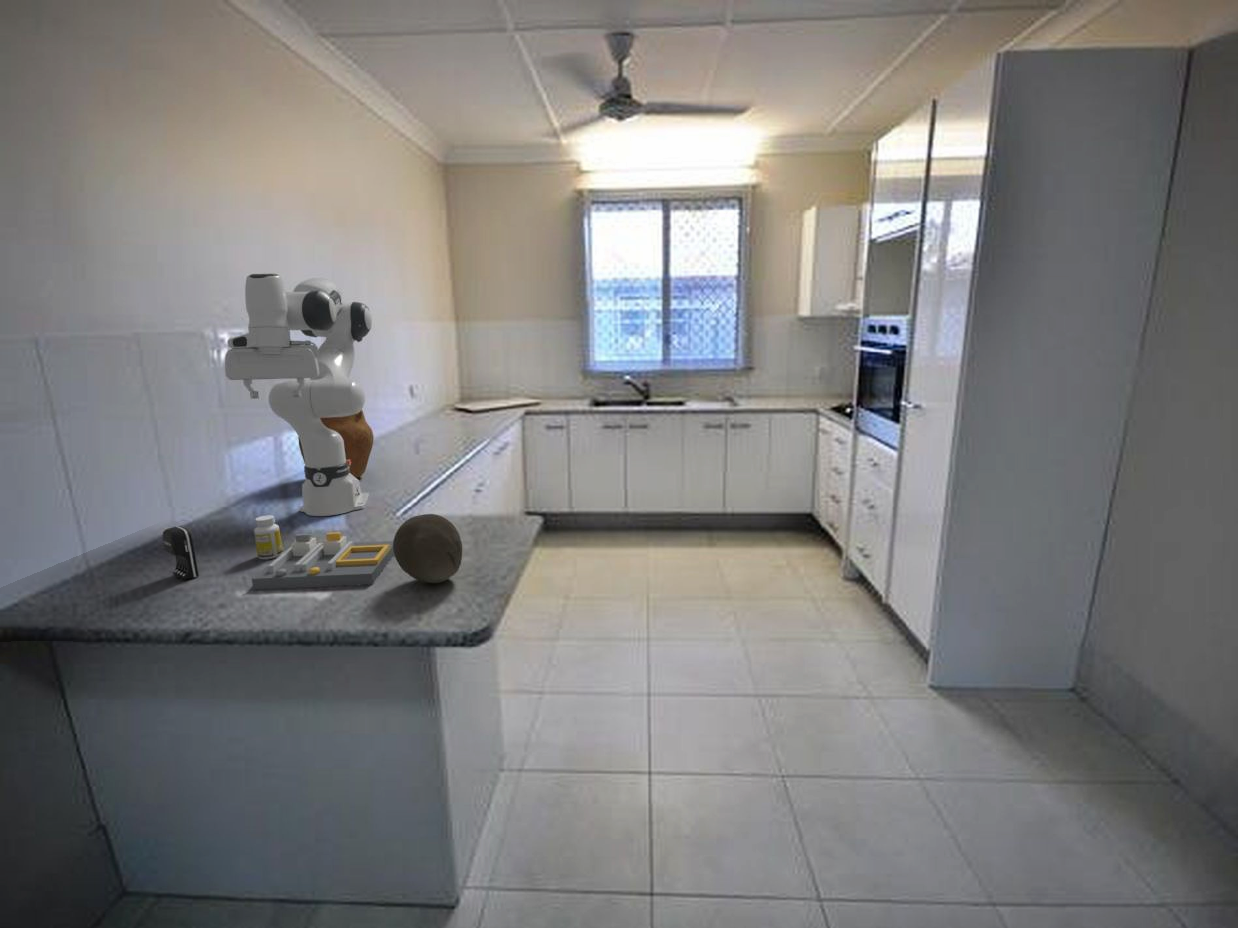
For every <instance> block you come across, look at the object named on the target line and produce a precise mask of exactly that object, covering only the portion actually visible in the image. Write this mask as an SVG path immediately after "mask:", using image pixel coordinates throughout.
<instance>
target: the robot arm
mask: <svg viewBox="0 0 1238 928" xmlns="http://www.w3.org/2000/svg"><path fill="white" fill-rule="evenodd" d="M244 286H245V290H244V293H245V294H244V295H245V297H244V299H245V309H246V312H247V314H248V319H249V320H248V327H247V328H248V332H247V333H245V334H241V335H239V336H234V337H231V338H229V339H228V340H227V341H226V342H227V346H228V348H230V349H228V350H227V351H226V353H225V357H224V371H225V372H224V373H225V377H226V378H227V379H228V380H229V381H243V385H244V386H245V388H246V389H247V391H248V392H249V395H250V399H251V400H253V399H254V400H255V399H259V398H260V396H259V393H260V392H259V390H256V391H255V390H254V389H253V387H252V386H251V385H253V380H254V381H255V380H281V379H282V380H283V379H284V380H286V379H289V381H285V382H284V381H283V382H279V383H275V384H274V385H273V386H272V388H271V389H270V391H269V394H268V403H269V407H270V409H271V410H272V412H273V413H274V414H275V415H276V416H277V417H279V418H281V419H283V420H284V421H285V422H286V423H287V424H289V425H290V426H291V428H293V430H294V431H295V433H296V434H297V437H298V436H299V439H300V441H301V444H302V449H303V454H304V459H305V463H304V466H303V469H304V471H303V472H304V473H303V474H304V478H305V481H304V482H303V483H302V484H301V485H302V486H301V491H302V504H303V505H301V506H300V507H299V508H298V509H299V512H303V513H305V514H306V515H308V516H312V517H328V516H336V515H340V514H341V515H342V514H345V513H349V512H353V511H357V510H362V509H364V508H366V505H367V503H368V500H369V498H370V494H369V492H363V491H362V489H361V482H360V480H359V479H358V478H355V477H354V476H353V475H352V474H351V473H350V467H349V466H351V461H350V460H346V456H345V448H344V440H343V438H342V436H341V435H340V434H339V433H338V432H336V431H334V430H331V429H329V428H327V427H326V426H325V425H324V424H323V423H322V421H321V419H320V418H332V417H345V416H350V415H354V414H358V413H359V412H360V411H361V410H362V411H363V408H364V405H365V402H366V397H365V392H364V390H363V388H362V387H361V385H359V383H358V382H357V381H354V380H351V379H350V374H351V371H352V368H353V365H354V361H355V348H354V342H355V341H356V342H357V343H361V342H362V341H363V338H364V337H366V336H367V335H368V333H369V332H370V331H371V329H372V323H373V318H372V313H371V312H370V309H369V306H367V305H366V304H365V303H362V302H358V301H352V302H351V301H342V298H343V297H342V295H343V294H342V292H341V289H340V288H339V286H338V285H337V284H336V283H335V282H333V281H332V280H329V279H326V278H322V277H321V278H320V277H319V278H318V277H316V278H310V279H306V280H303V281H301V282H300V283H298V284H297V285H295V287H294V289H293V291H286V290H285V286H284V281H283V278H282V276H281V275H279V274H277V273H253V274H249V275H248V276H246V278H245V284H244ZM291 331H300V332H302V334H303V335H304V336H306V337H310V338H318V337H320V338H325V340H324V341H323V342H322V343H321V345H320V346H319V347H318V345H317V344H316V343H314V342H312V341H311V340H292V339H291ZM291 379H296V380H291ZM299 439H298V440H299Z"/></svg>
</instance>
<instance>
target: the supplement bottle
mask: <svg viewBox="0 0 1238 928" xmlns="http://www.w3.org/2000/svg"><path fill="white" fill-rule="evenodd" d="M275 521H276V520H275V516H274V515H271V514H270V515H268V514H267V515H262V516H258V517H256V518H255V525H256V526H255V528H254V530H253V534H254V535H253V536H254V539H255V540H254V541H255V545H256V551H257V556H258V558H259V559H261V560H271V559H272V560H273V559H276V558H278V557H279V556H280V555H281V554H283V553H284V550H283V542H282V537H281V531H280V529H281V528H280V526H279V525H278V524H276V523H275Z"/></svg>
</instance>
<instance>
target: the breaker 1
mask: <svg viewBox="0 0 1238 928" xmlns="http://www.w3.org/2000/svg"><path fill="white" fill-rule="evenodd" d="M294 536H295V541H293V543H291V544H290V547H291V546H292V552H293V556H305V555H306V554H307V553H308V552H309V551H310V550H311V549H313V548H314V547H315V546H316V545H317V544H318V543H317V542H318V541H317V537H312V534H311V533H310V532H309V533H296V534H295V535H294Z"/></svg>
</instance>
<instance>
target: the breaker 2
mask: <svg viewBox="0 0 1238 928" xmlns="http://www.w3.org/2000/svg"><path fill="white" fill-rule="evenodd" d="M325 536H326V539H325V540H324V541H322V543H323V551H324V555H336V554H337V553H338V552H339V551H340V550H341V549H342V548H343V547H344V546H345V545H346V544H347V543H348V541H347V539H348V537H347V536H345V535H344V536H342V532H341V531H336V532H335V531H334V532H327V533H326V534H325Z"/></svg>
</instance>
